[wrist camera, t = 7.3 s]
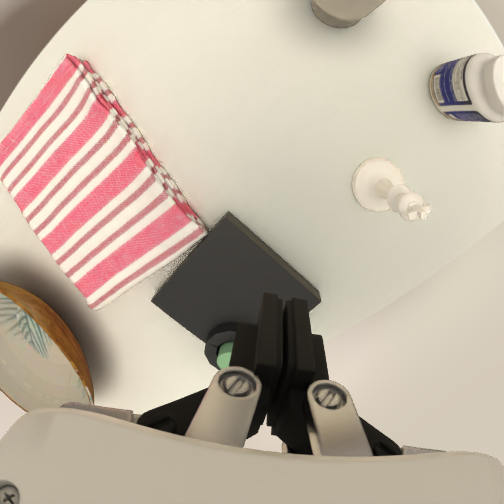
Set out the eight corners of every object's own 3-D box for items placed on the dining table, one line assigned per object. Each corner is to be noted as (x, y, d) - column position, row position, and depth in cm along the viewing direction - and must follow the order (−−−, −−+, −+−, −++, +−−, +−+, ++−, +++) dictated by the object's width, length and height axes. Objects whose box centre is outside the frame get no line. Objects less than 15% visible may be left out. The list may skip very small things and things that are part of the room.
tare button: (252, 352, 31) (251, 363, 29) (234, 365, 32) (232, 377, 30) (231, 336, 30) (229, 347, 28) (214, 351, 31) (211, 362, 29)
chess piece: (344, 168, 26) (379, 191, 17) (392, 150, 25) (446, 165, 16) (361, 218, 28) (398, 263, 19) (407, 200, 27) (460, 236, 17)
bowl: (-27, 293, 37) (-55, 316, 29) (35, 218, 30) (-10, 243, 23) (60, 403, 44) (41, 433, 37) (152, 377, 38) (133, 422, 30)
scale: (321, 293, 31) (326, 312, 28) (239, 360, 35) (235, 381, 32) (228, 210, 29) (222, 222, 25) (153, 295, 33) (142, 313, 29)
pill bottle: (482, 95, 22) (547, 94, 12) (456, 132, 24) (521, 142, 14) (445, 52, 21) (506, 33, 11) (416, 89, 23) (476, 78, 13)
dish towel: (83, 50, 23) (64, 45, 20) (214, 230, 29) (206, 244, 26) (0, 158, 28) (-19, 163, 24) (104, 307, 34) (91, 324, 31)
